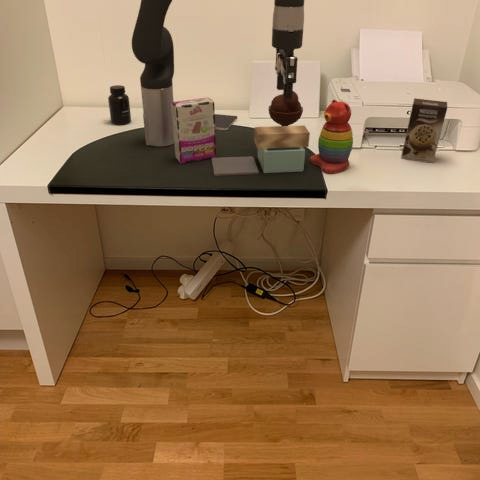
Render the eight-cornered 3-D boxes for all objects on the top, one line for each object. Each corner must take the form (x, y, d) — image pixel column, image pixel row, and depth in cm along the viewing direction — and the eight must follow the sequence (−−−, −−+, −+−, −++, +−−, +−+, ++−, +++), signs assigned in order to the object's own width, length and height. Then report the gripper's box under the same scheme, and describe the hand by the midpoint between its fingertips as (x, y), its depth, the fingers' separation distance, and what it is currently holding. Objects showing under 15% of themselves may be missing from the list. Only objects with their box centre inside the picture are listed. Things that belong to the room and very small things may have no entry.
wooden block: (257, 148, 126) (258, 134, 124) (254, 140, 131) (254, 127, 129) (308, 146, 128) (309, 132, 125) (303, 139, 133) (304, 125, 130)
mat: (214, 175, 125) (214, 173, 125) (211, 159, 135) (211, 157, 134) (258, 174, 127) (258, 172, 126) (252, 158, 136) (252, 156, 136)
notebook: (237, 120, 166) (181, 115, 171) (237, 116, 165) (180, 110, 170) (227, 132, 156) (167, 126, 160) (227, 127, 155) (167, 121, 160)
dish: (263, 173, 127) (264, 152, 124) (257, 157, 137) (258, 137, 133) (303, 171, 129) (305, 150, 125) (294, 155, 138) (296, 136, 134)
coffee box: (400, 158, 137) (412, 103, 128) (402, 151, 142) (413, 97, 133) (433, 163, 134) (447, 107, 125) (434, 155, 139) (447, 100, 130)
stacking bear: (306, 160, 135) (311, 98, 125) (335, 155, 138) (343, 94, 129) (327, 175, 127) (334, 110, 117) (357, 169, 130) (367, 105, 120)
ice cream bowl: (300, 132, 155) (304, 85, 147) (300, 144, 146) (304, 95, 138) (268, 130, 156) (270, 84, 148) (266, 142, 146) (268, 94, 138)
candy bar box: (210, 151, 140) (208, 96, 131) (216, 157, 136) (215, 101, 127) (174, 157, 136) (170, 101, 127) (180, 164, 132) (176, 106, 123)
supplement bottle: (129, 125, 159) (124, 89, 152) (109, 125, 159) (103, 89, 152) (133, 119, 164) (129, 84, 158) (114, 119, 165) (109, 84, 158)
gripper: (267, 22, 119) (265, 87, 128) (278, 31, 107) (275, 102, 116) (296, 22, 120) (292, 86, 128) (310, 31, 108) (304, 101, 117)
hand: (284, 94), depth 122 cm, fingers open, 8 cm apart
